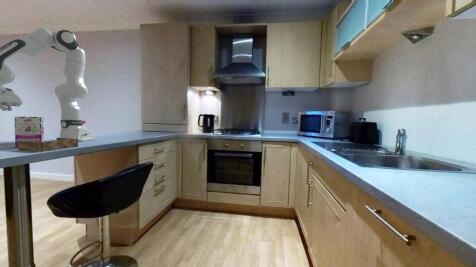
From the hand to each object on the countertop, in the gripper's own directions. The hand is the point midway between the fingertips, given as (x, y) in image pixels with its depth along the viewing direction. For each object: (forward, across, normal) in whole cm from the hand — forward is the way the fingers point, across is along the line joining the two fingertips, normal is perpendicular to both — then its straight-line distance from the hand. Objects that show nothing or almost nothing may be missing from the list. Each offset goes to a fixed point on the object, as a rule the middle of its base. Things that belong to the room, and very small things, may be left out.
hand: (7, 110), depth 130 cm
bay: (+33, 0, -5) cm, 33 cm away
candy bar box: (+24, 0, +4) cm, 24 cm away
